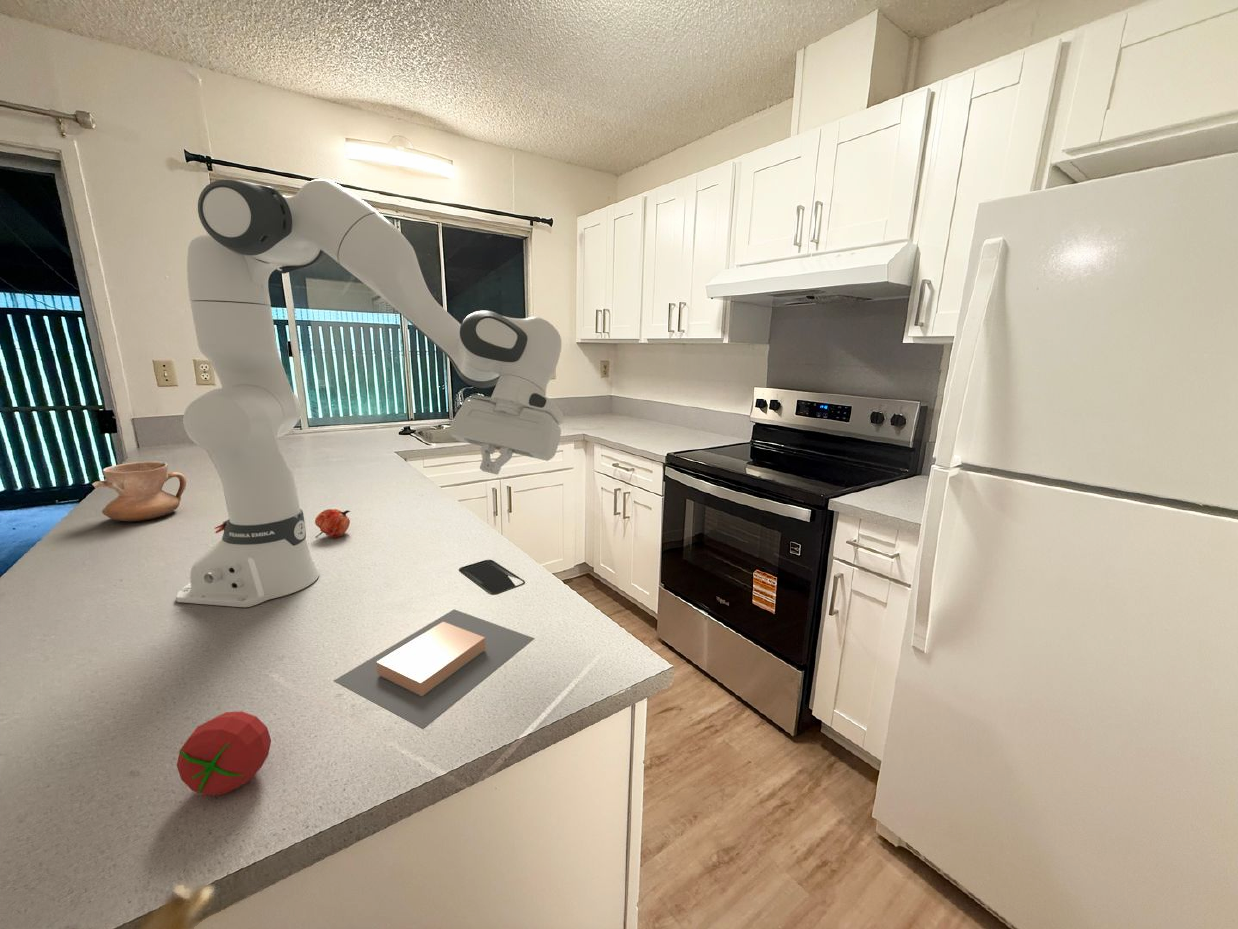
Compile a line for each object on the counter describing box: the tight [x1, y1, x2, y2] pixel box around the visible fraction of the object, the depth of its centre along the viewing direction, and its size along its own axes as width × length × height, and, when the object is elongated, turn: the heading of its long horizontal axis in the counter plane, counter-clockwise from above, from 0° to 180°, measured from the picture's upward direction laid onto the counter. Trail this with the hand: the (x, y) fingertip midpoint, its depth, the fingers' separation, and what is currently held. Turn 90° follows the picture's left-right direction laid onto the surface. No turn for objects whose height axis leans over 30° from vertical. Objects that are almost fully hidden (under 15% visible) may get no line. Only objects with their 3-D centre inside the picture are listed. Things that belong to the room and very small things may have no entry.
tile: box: [376, 622, 486, 696], centre depth 71 cm, size 2×9×12 cm
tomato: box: [176, 711, 272, 797], centre depth 51 cm, size 8×8×8 cm
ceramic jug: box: [91, 461, 187, 522], centre depth 130 cm, size 18×14×14 cm
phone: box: [458, 559, 526, 596], centre depth 99 cm, size 8×1×15 cm
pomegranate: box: [314, 508, 351, 539], centre depth 119 cm, size 7×7×10 cm
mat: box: [333, 609, 535, 730], centre depth 73 cm, size 22×18×1 cm
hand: (488, 472), depth 83 cm, fingers closed
